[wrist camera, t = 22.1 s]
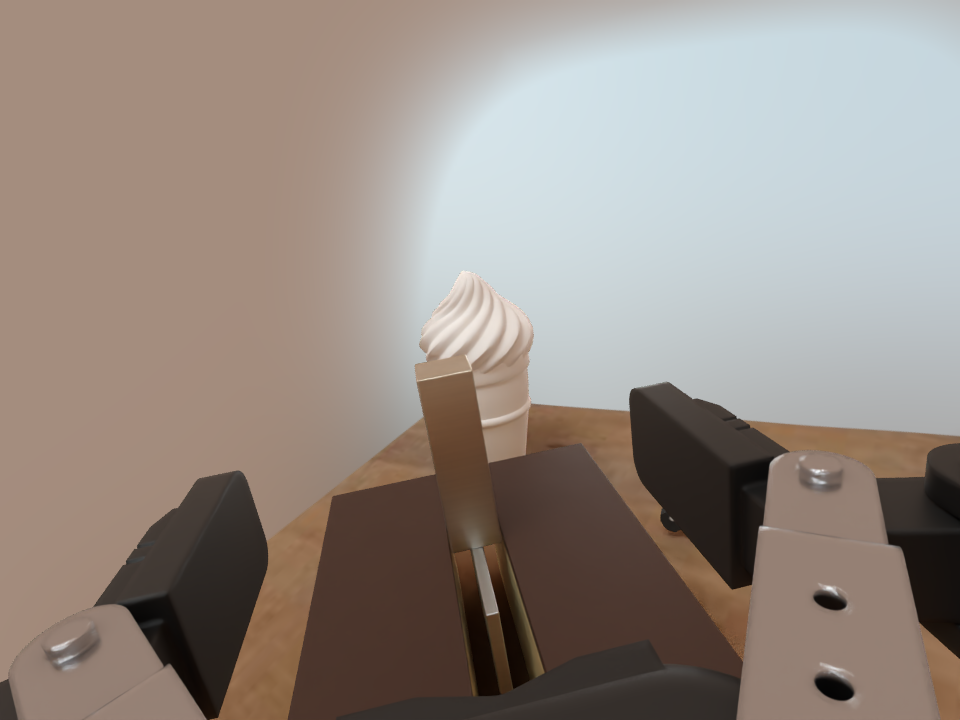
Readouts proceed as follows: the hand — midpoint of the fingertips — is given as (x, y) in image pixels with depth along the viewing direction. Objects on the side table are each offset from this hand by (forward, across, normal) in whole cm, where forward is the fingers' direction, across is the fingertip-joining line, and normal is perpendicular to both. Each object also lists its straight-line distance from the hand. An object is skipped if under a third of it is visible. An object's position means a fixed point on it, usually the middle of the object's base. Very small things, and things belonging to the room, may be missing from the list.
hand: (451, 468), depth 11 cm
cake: (+9, +1, -16) cm, 19 cm away
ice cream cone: (+29, +4, -17) cm, 33 cm away
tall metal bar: (+11, 0, -16) cm, 20 cm away
